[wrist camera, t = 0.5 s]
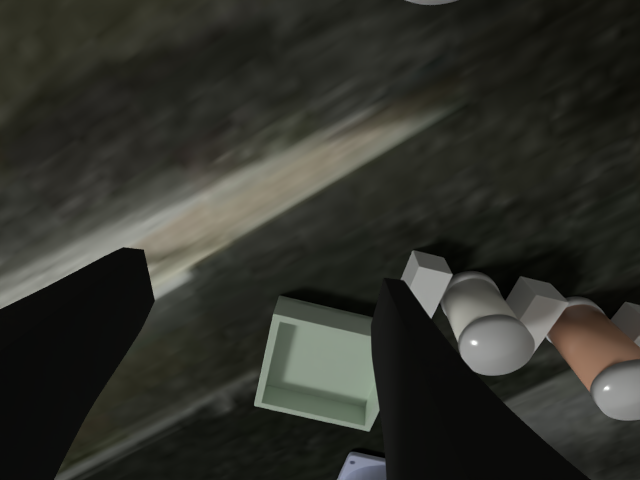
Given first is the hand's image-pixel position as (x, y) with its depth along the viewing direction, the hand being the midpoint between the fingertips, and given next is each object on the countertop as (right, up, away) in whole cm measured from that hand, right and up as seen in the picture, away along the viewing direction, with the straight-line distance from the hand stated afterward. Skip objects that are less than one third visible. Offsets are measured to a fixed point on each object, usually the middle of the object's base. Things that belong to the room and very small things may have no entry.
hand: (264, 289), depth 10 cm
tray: (+2, -7, +15) cm, 17 cm away
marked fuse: (+18, -4, +12) cm, 22 cm away
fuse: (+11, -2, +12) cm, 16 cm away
